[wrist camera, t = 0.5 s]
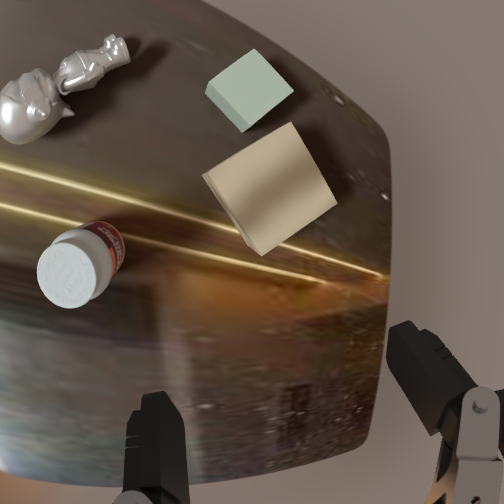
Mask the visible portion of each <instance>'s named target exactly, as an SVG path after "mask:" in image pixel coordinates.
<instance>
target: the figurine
mask: <svg viewBox="0 0 504 504" xmlns="http://www.w3.org/2000/svg"><path fill="white" fill-rule="evenodd" d="M66 58H67V57H66ZM66 58H65V59H66ZM128 63H130V56H129V52H128V49H127V46H126V43H125V41H124V40H123V39H122V38H121V37H119V38H117V39H116V37H115V35H114V34H111V35H109V36H108V37H106V38H105V39H104V45H103V46H102V47H101V48H99V49H95V50H84V51H83V50H78V51H75V53H73V54H72V55H70V56H69V57H68V58H67V59H66V60H63V61H62V62H61V65H60V67H59V69H58V71H57V72H55V73H54V74H53V79H52V78H51V77H50V76H49V74H48V73H47V72H46V71H45V70H43V69H41V68H36V69H34V70H33V71H32V72H30V73H23V75H22V76H21V78H19V79H17V80H15V81H13V80H11V81H10V82H8V83H7V84H6V85H5V87H4V88H3V89H2V90H1V92H0V134H1V135H2V137H3V138H4V139H6V140H7V141H8V142H10V143H13V144H27V143H30V142H32V141H34V140H36V139H38V138H40V137H42V136H43V135H45V134H46V133H47V132H49V131H50V130H51V129H52V128H53V127H54V126H55V125H56V124H57V122H58V121H59V120H60V119H61V118H63V117H69V116H74V115H75V113H74V112H73V111H72V110H70V108H71V107H70V106H69V105H68V104H66V103H65V102H64V101H62V99H61V98H60V96H59V93H61V94H62V95H67V94H68V93H71V92H77V91H82V90H86V89H89V88H94V87H95V86H96V85H97V82H98V81H99V80H100V79H101V78H102V77H103V76H104V75H105V73H107V72H108V71H109V70H114V68H117V67H120V66H122V65H125V64H128Z"/></svg>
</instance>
